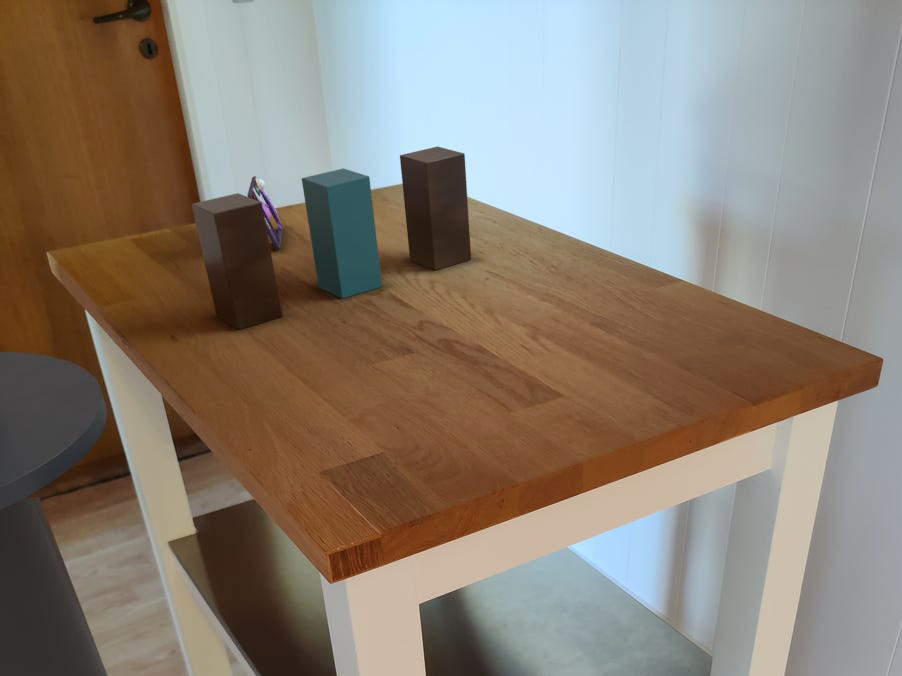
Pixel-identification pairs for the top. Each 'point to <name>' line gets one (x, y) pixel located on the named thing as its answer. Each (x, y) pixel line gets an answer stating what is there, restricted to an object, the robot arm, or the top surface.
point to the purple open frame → (266, 211)
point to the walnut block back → (436, 207)
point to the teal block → (342, 232)
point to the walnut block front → (238, 260)
